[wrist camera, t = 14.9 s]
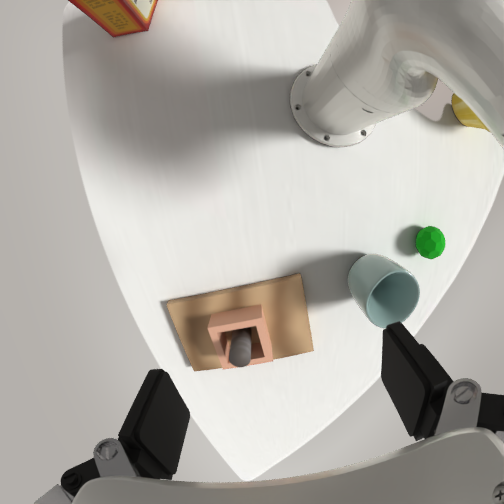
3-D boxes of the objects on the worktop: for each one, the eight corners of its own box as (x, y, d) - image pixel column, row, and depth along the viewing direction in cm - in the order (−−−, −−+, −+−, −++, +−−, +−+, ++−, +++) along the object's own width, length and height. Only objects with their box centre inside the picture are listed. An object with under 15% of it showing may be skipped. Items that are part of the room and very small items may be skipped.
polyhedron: (412, 258, 38) (428, 267, 33) (408, 229, 37) (424, 235, 32) (435, 248, 37) (451, 256, 33) (431, 220, 36) (448, 225, 32)
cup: (396, 269, 38) (429, 294, 29) (363, 305, 40) (388, 338, 30) (366, 237, 37) (398, 256, 27) (331, 277, 39) (353, 307, 29)
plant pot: (469, 81, 29) (502, 71, 19) (486, 133, 31) (522, 131, 22) (435, 81, 30) (470, 67, 20) (454, 139, 32) (493, 135, 23)
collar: (261, 304, 38) (261, 317, 34) (271, 345, 40) (273, 361, 36) (211, 314, 39) (207, 327, 35) (225, 353, 41) (223, 369, 37)
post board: (299, 273, 39) (310, 298, 30) (312, 345, 42) (322, 379, 34) (169, 300, 40) (150, 328, 32) (195, 365, 43) (185, 399, 35)
